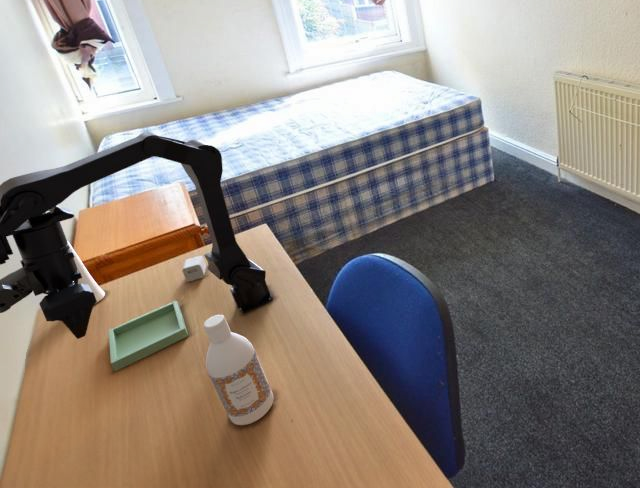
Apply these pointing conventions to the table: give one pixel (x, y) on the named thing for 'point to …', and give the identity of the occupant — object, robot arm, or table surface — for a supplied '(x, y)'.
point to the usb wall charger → (194, 268)
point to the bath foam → (236, 373)
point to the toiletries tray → (146, 335)
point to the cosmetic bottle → (87, 277)
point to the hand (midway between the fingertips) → (75, 326)
